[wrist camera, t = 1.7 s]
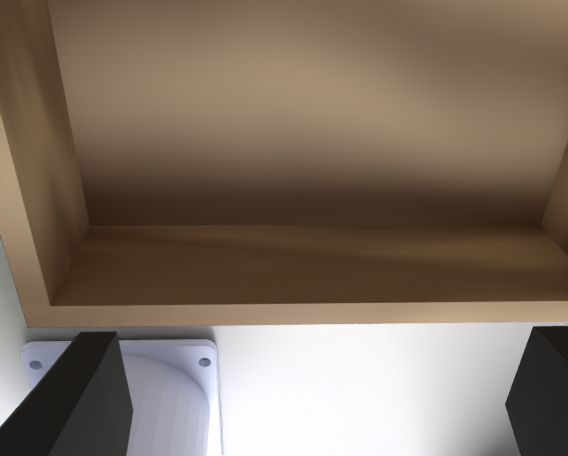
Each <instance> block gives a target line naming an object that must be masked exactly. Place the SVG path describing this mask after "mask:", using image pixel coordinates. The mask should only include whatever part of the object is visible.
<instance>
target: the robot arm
mask: <svg viewBox="0 0 568 456" xmlns="http://www.w3.org/2000/svg"><path fill="white" fill-rule="evenodd" d="M21 357H22V361H23V364H24V367H25V370H26V373H27V377H28V380H29V383H30V386H31V389H32V391H31V392H30V393H29V394H28V395H27V397H26V398H25V399H24V400H23V401H22V403H21V404H20V405H19V406H18V407H17V408H16V409H15V411H14V412H13V413H12V414H11V415H10V416H9V417H8V419H7V420H6V421H5V422H4V423H3V424H2V425H1V427H0V456H222V439H221V420H220V401H219V383H218V364H217V347H216V344H215V343H214V342H212V341H210V340H207V339H182V340H118V335H117V332H80V333H79V334H78V335H77V336H76V337H75V338H74V339H73V341H36V342H28V343H27V344H25V346H24V347H23V349H22V351H21ZM202 358H208V359H209V360H202ZM35 361H38V362H40V363H38V362H35ZM505 405H506V409H507V412H508V415H509V419H510V422H511V426H512V429H513V432H514V436H515V439H516V442H517V445H518V448H519V451H520V454H521V456H568V326H534V327H533V328H532V331H531V334H530V337H529V339H528V342H527V345H526V348H525V350H524V353H523V356H522V359H521V362H520V364H519V367H518V370H517V373H516V375H515V378H514V381H513V384H512V386H511V389H510V392H509V395H508V398H507V400H506V403H505Z"/></svg>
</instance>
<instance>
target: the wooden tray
mask: <svg viewBox="0 0 568 456" xmlns="http://www.w3.org/2000/svg"><path fill="white" fill-rule="evenodd" d="M0 235H1V239H2V242H3V245H4V249H5V252H6V256H7V259H8V262H9V266H10V269H11V273H12V276H13V279H14V283H15V286H16V290H17V293H18V296H19V300H20V303H21V307H22V310H23V313H24V317H25V320H26V324H27V327H28V328H57V327H138V326H218V325H299V324H380V323H460V322H541V321H568V0H0Z"/></svg>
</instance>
